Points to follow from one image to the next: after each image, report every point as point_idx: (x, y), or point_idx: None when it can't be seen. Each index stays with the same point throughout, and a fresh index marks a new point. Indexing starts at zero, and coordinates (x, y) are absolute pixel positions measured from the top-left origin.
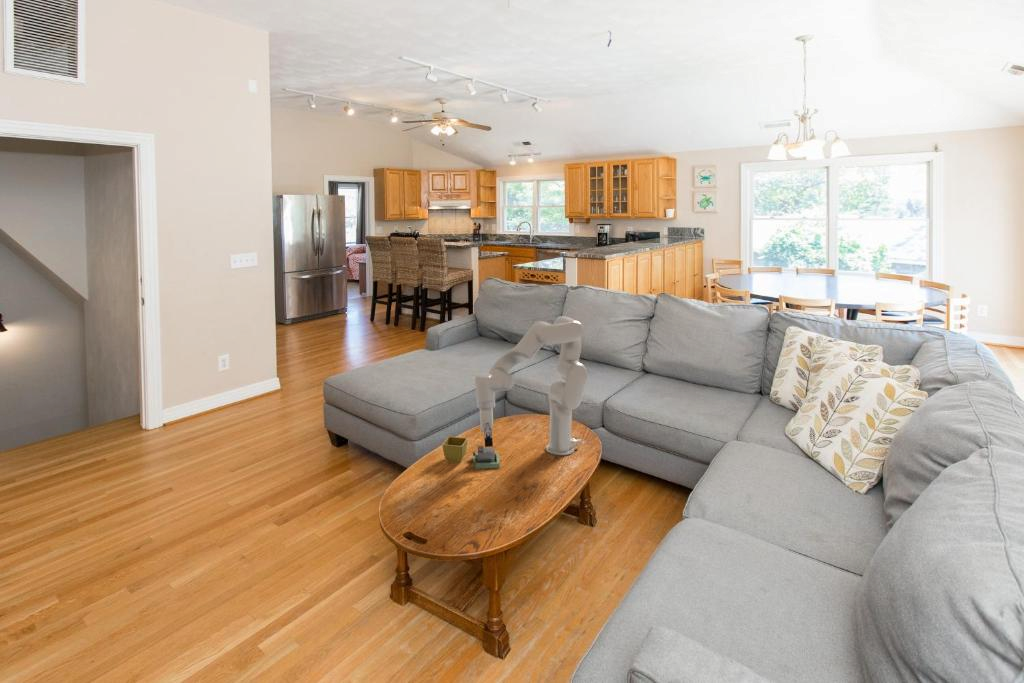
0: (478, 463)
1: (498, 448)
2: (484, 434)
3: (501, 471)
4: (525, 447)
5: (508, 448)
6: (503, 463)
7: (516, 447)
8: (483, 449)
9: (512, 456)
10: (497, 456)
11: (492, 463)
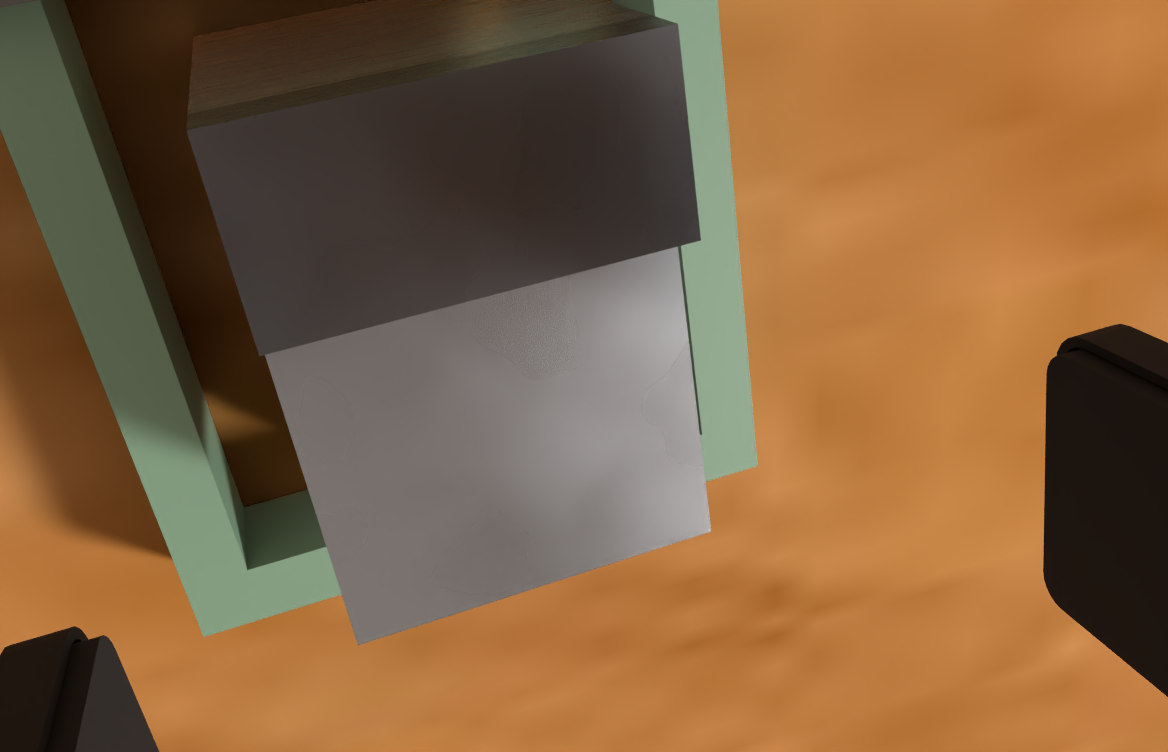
0: (37, 104)
1: (1116, 312)
2: (1155, 372)
3: None
4: (1089, 715)
5: None
6: None
7: None
8: (382, 322)
9: (769, 638)
10: None
11: (154, 486)
